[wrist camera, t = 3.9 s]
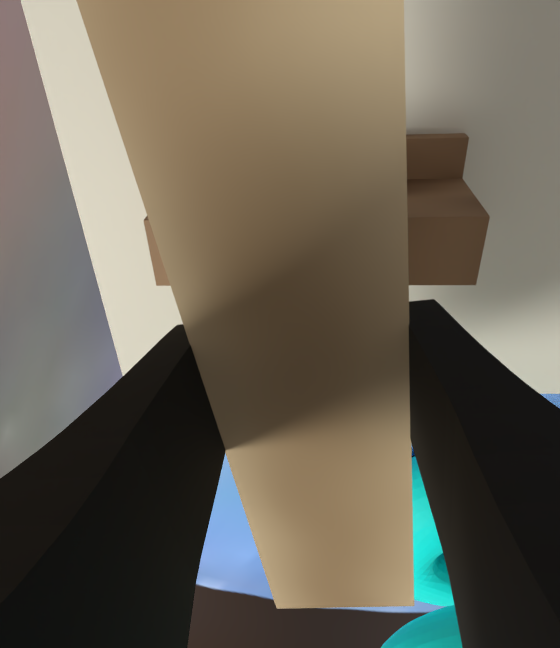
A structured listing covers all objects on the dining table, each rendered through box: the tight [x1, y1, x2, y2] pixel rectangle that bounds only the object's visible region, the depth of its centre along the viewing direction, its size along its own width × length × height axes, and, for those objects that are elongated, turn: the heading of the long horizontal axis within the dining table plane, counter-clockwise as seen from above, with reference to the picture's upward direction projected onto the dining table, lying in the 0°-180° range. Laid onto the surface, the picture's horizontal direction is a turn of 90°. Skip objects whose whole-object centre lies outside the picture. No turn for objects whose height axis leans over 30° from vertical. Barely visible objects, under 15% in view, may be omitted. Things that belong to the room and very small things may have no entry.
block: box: [143, 133, 490, 286], centre depth 15 cm, size 9×4×4 cm, turn 92°
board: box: [21, 0, 560, 394], centre depth 17 cm, size 18×14×1 cm
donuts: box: [381, 457, 462, 648], centre depth 22 cm, size 10×10×10 cm
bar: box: [76, 0, 414, 609], centre depth 10 cm, size 4×16×4 cm, turn 9°
